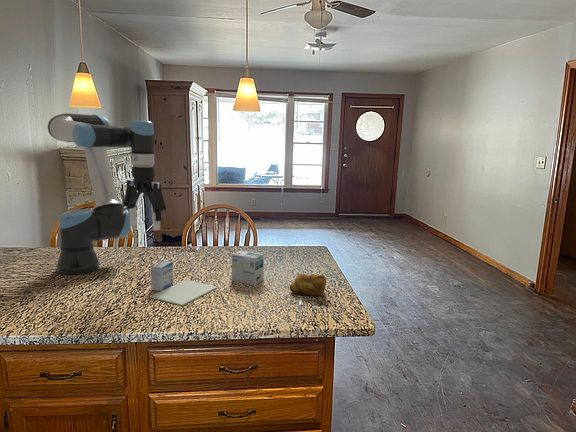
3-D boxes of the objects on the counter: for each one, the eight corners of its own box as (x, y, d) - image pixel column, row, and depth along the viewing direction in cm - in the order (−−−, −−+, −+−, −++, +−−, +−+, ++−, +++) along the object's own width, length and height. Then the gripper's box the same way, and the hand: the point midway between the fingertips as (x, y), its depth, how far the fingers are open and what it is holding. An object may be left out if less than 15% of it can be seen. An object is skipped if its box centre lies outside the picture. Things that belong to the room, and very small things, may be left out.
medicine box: (162, 291, 144) (161, 268, 143) (150, 290, 145) (150, 266, 144) (173, 284, 152) (173, 261, 150) (162, 282, 153) (162, 260, 151)
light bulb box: (263, 280, 159) (264, 253, 157) (255, 285, 153) (255, 258, 151) (240, 275, 164) (240, 249, 162) (230, 280, 158) (231, 253, 156)
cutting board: (149, 297, 139) (149, 296, 139) (186, 281, 156) (186, 279, 156) (182, 306, 133) (182, 304, 133) (217, 288, 150) (217, 286, 150)
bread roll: (288, 296, 145) (289, 274, 143) (291, 286, 154) (292, 266, 153) (325, 299, 143) (326, 277, 142) (325, 289, 153) (327, 268, 151)
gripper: (110, 164, 145) (113, 225, 150) (160, 168, 136) (162, 234, 140) (127, 163, 152) (129, 222, 156) (176, 167, 142) (177, 230, 147)
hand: (144, 227), depth 148 cm, fingers open, 10 cm apart
